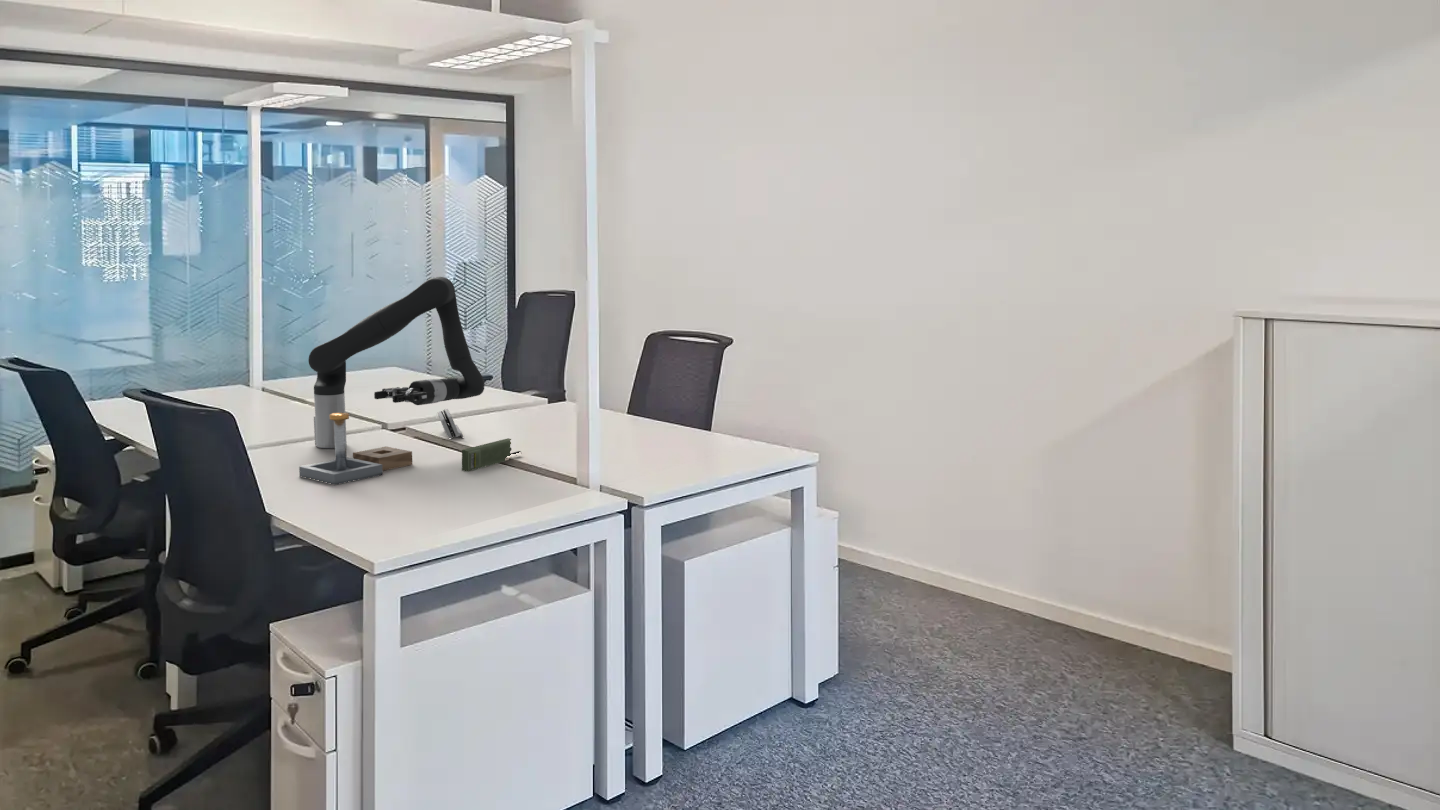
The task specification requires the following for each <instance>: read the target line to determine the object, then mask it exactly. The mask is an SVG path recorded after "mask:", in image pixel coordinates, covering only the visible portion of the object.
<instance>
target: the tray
mask: <svg viewBox="0 0 1440 810" xmlns="http://www.w3.org/2000/svg"><path fill="white" fill-rule="evenodd" d="M346 459H347V470H344V471H339V472H336V463H335V459H331V460H326V461H321V462H316V463H311V464H310V463H309V464H304V465H300V466H299V467H298V470H299V477H300V476H302V477H306V478H305V479H307V478H311V479H315V480H319V481H318V482H320V481H323V482H322V483H324V482H327V483H326V484H328V483H331V484H330V485H332V484H337V485H340V484H339V483H342V484H345V483H344V482H346V483H349V482H348V481H351V482H354V481H353V480H356V481H359V480H358V479H360V480H363V479H364V478H365V479H369V478H368V477H370V478H374V477H379V476H383V475H384V474H383V473H384V471H382V464H377V463H373V462H368V461H363V460H358V459H353V457H347V456H346ZM382 474H383V475H382ZM378 475H379V476H378ZM373 476H374V477H373ZM302 477H301V478H302ZM311 479H310V480H311ZM365 479H364V480H365ZM315 480H314V481H315Z"/></svg>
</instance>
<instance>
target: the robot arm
mask: <svg viewBox="0 0 1440 810" xmlns="http://www.w3.org/2000/svg"><path fill="white" fill-rule="evenodd" d="M456 295H457V294H456V289H455V286H454V284H453V282H452V281H451V280H450V279H449V278H447V277H444V276H436V277H434V276H433V277H431V278H428V279H427V280H425V281H424V282H422V283H421V284H420V285H419V286H418V287H417V288H415V289H413V290H412V291H411V292H410V293H408V294H407V295H405V296H403V297H401V298H399V299H398V300H395V301H393V302H391V303H389V304H387V305H385V306H383V307H382V308H379V309H378V310H376V311H374V312H373V313H371V314H369V315H368V316H366V317H365V318H363V319H362V320H360V321H359V322H357V323H356V324H354V325H352V327H350V328H349V329H348V330H346V331H344V333H342V334H340V335H338V336H337V337H335V338H332V339H331V340H329V341H326V342H324V343H322V344H319V345H317V346H315V347H314V348H313V349H312V350H311V351H310V353H309V355H308V365H309V368H310V369H312V370H313V371H314V372H316V381H315V383H314V385H313V398H314V399H313V401H314V403H313V404H314V416H313V429H314V430H313V432H314V433H313V434H314V445H315V446H316V448H320V449H335V438H334V420H330V416H329V415H330V414H332V413H346V399H345V398H346V396H345V387H346V384H347V383H346V381H347V360H348V359H349V358H351V357H353V356H355V355H357V354H359V353H361V352H363V351H365V350H368V349H370V348H371V349H372V348H373V347H375V346H378V345H379V344H381V343H383V342H385V341H387V340H388V339H390V338H392V337H393V336H396V335H397V334H398V333H400V332H401V331H403V329H405V328H406V327H407V326H408V325H409V324H410V323H411V322H412V321H414V320H416V319H417V318H418V317H420V316H421V315H423V314H425V313H428V312H429V311H432V310H433V309H435V310H436V312H437V314H438V315H437V316H438V317H439V321H440V324H441V329H442V330H441V331H442V337H443V344H444V348H445V352H446V356H447V359H448V363H449V365H450V367H451V369H452V370H454V371H457V372H458V371H459V372H460V374H461V376H459V377H454V378H453V377H452V378H451V377H446V378H430V379H422V380H421V379H420V380H415V381H412V382H411V383H410V385H409V386H403V387H399V386H397V387H389V388H382V390H379V391H374V395H373V396H374V399H375V400H381V399H392V403H395V404H397V403H403V402H405V403H412V404H413V405H414V406H423V405H430V404H432V405H433V404H437V403H440V402H446V401H451V400H464V399H469V398H473V397H478V396H481V395H482V394H483V392H484V391H485V387H486V385H485V380H484V378H483V375H482V374H481V371H480V370H479V368H478V367H477V365H476V363H475V362H474V360H473V358H472V355H471V352H470V348H469V344H468V342H467V339H466V336H465V333H464V330H463V326H462V323H461V318H460V314H459V309H458V303H457V296H456ZM346 420H347V419H346ZM346 420H345V432H346V433H347V421H346ZM347 443H348V442H347V440H346V446H347Z"/></svg>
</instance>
